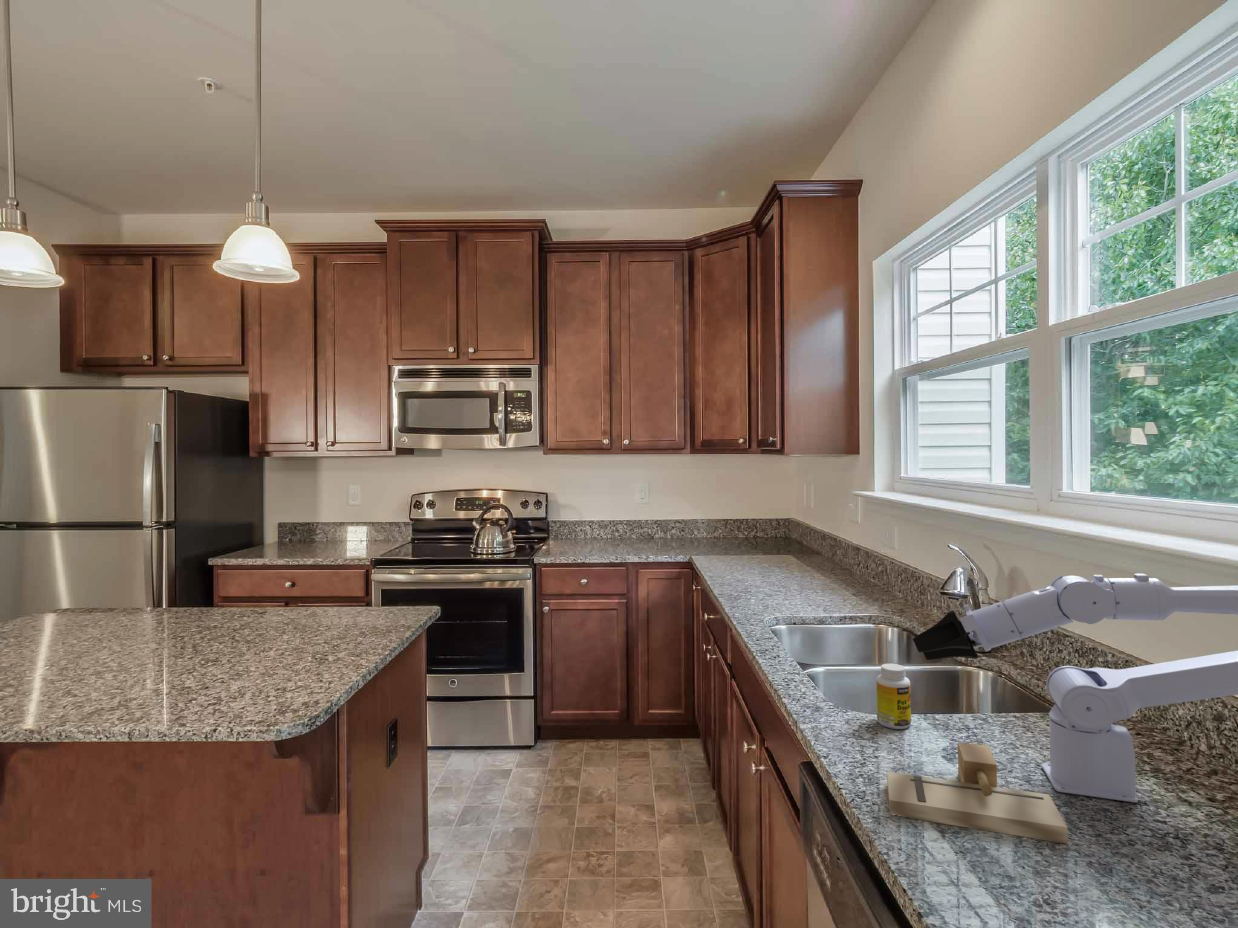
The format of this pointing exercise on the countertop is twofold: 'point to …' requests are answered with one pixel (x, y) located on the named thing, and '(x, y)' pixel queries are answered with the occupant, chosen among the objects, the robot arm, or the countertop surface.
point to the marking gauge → (977, 766)
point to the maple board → (976, 807)
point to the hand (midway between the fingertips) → (919, 649)
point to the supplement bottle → (893, 697)
